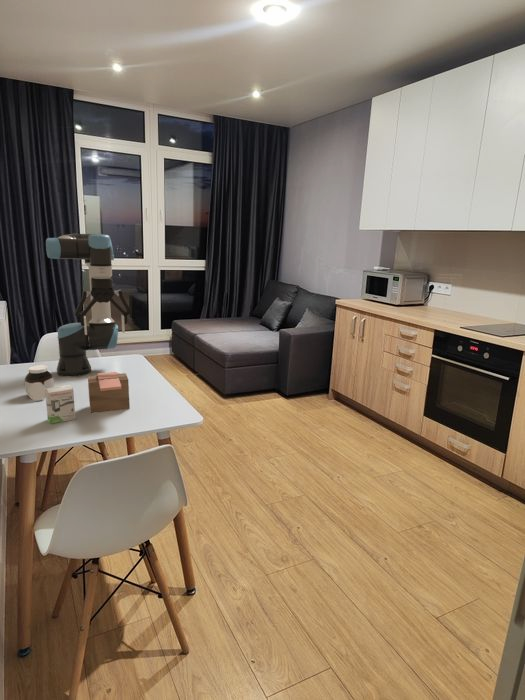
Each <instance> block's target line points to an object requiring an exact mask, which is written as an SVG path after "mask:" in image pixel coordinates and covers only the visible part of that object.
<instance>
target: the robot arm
mask: <svg viewBox="0 0 525 700" xmlns="http://www.w3.org/2000/svg"><path fill="white" fill-rule="evenodd" d="M45 251H46V255H47V258H48V259H54V260H59V259H60V260H61V259H62V260H65V259H67V260H71V259H72V260H80V261H82V260H84V265H86V267H88V276H89V291H88V290H84V289H83V290H82V297H81V298H80V301H79V302H78V305H77V307H76V309H75V312H74V316H75V317H79V319H80V322H73V323H71V322H70V323H67V324H64V325H61V326H59V327H58V329H57V339H58V340H57V341H58V355H59V358H58V363H57V367H56V375H57V376H60V377H65V378H66V377H67V378H68V377H69V378H70V377H71V378H72V377H74V378H75V377H80V376H84V375H87V374H90V373H91V372H92V367H91V366H92V365H91V364H90V361H89V358H88V356H87V351H96V350H97V351H98V350H100V351H101V350H113V349H115V348H117V345H118V339H119V338H118V336H119V325H118V324H115V322H116V321H115V320H114V319H113V318H112V315H111V313H112V311H111V309H112V308H111V304H113V306H114V307H115V308H116V309H118V311H119V312H120V313H121V315H120V317H121V320H120V321H121V332H122V333H123V334H124V333H126V331H125V330H126V329H125V325H127V324H128V315H132V312H133V311H132V310H131V308H130V307H129V305H128V303H127V301H126V300H125V298H124V296H123V292H122V291H123V290H121V289H118V290H114V285H113V284H114V283H113V281H114V280H113V268H112V267H113V265H112V261H114V260H115V254H114V249H113V244H112V240H111V236H110V235H108V234H102V233H101V234H100V233H70V234H69V233H68V234H63V235H60V236H58V237H47V238H46V240H45ZM115 295H116V296H117V297H119V299H120V300H121V303H122V304H123V306H124V308H125V310H126V311H125V310H124V308H122V306H120V305H119V303H118V302H117V301H116V300H115V299H114V298H113V297H114V296H115ZM89 296H90V301H89V303H88V304H87V305H86V307H85V308H84V309H83V310H82V308H83V306H84V304H85V301H86V299H87V298H88V297H89ZM81 310H82V311H81ZM90 310H91V318H90V320H89V321H88V324H87V316H86V315H87V314H88V312H89V311H90Z"/></svg>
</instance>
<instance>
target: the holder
mask: <svg viewBox="0 0 525 700" xmlns="http://www.w3.org/2000/svg"><path fill="white" fill-rule="evenodd" d="M108 372H109V373H108ZM108 372H102V373H101V372H99V373H96V374H97V375H90V376H89V375H88V376H87V383H88V384H87V385H88V398H89V409H90V410H89V411H90V414H98V413H106V412H115V411H122V410H123V411H124V410H130V409H131V408H130V389H129V388H130V387H129V378H128V376H127V373H125V372H123V373H120V374H117V372H118V371H108ZM112 378H119V381H120V384H121V388H122V389H117V390H107V391H100V386H99V380H101V379H112Z"/></svg>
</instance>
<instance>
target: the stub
mask: <svg viewBox="0 0 525 700" xmlns="http://www.w3.org/2000/svg"><path fill="white" fill-rule="evenodd" d="M99 386H100V391H107V390H117V389H122V388H121V384H120V381H119V378H112V379H101V380H99Z"/></svg>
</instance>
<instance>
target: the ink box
mask: <svg viewBox="0 0 525 700" xmlns="http://www.w3.org/2000/svg"><path fill="white" fill-rule="evenodd" d="M45 394H46V397H45V404H46V412H47V414H46V415H47V420H48V423H49V424H51V425H52V424H57V423H63V422H67V421H73V420H76V419H77V418H76V408H75V406H76V405H75V395H74V388H73V387H72V385H70V384H68V385H67V384H66V385H59V386H54V387H52V388H47V389H45Z"/></svg>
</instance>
